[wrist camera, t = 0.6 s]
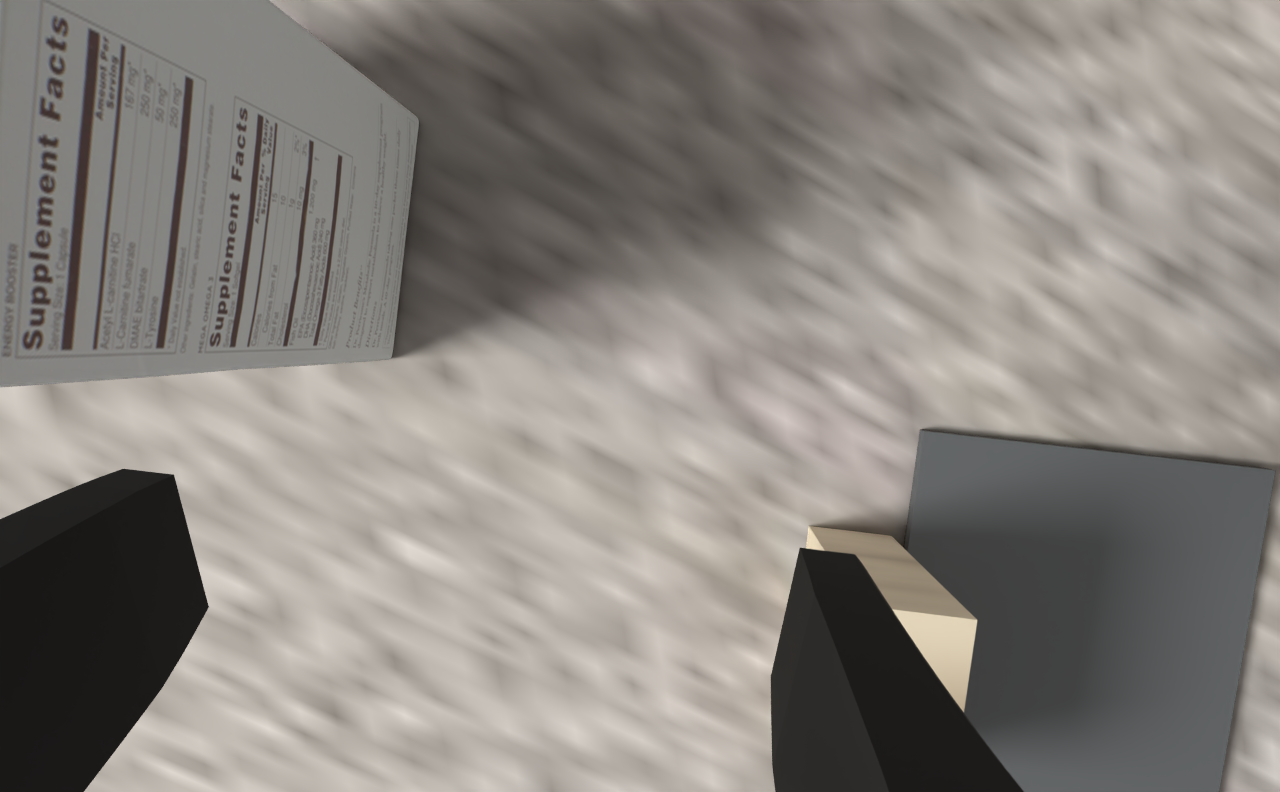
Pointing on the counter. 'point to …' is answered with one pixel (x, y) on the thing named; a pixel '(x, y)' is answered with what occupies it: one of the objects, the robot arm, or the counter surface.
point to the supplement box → (192, 193)
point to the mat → (1095, 604)
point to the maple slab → (912, 602)
